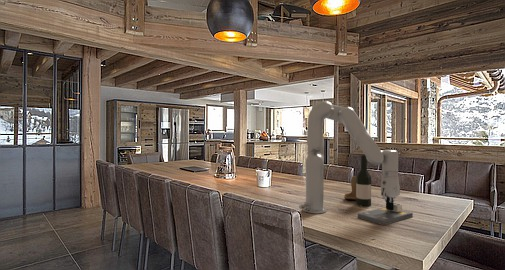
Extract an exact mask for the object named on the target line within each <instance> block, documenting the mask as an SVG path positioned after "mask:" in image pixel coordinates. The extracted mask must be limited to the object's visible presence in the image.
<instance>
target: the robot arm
mask: <svg viewBox="0 0 505 270" xmlns="http://www.w3.org/2000/svg"><path fill="white" fill-rule="evenodd" d="M325 119H328V120H332V121H336V122H340V123H342V124H343V126H344V127H345V129H346V130H347V132H348V134H349V136H350V137H351V138H352V140H353V141H354V142H355V143H356V144H357V145H358V146H359V148H360V149H361V151H362V152H363V154H365V155H366V159H367V162H368V163H370V165H373V166H378V165H381V180H380V181H381V183H380V184H381V185H380V195H381V196H382V200H384V201H385V207H386V209H387V210H393V209H394V203H395V199H396V198H397V197H399V196H400V194H401V187H400V185H401V184H400V177H399V151H398V150H394V149H385V150H381V149H380V147H379V146H378V143H376V141H375V140H374V138H373V137H372V135H371V133H370V132H369V131H368V129H367V128H366V126H365V125H364V123H363V122H362V120H361V119H360V117H359V116H358V114H357V113H356V111H355V109H354V108H353V107H350V106H345V107H344V106H340V105H335V104H332V103H331V102H330V101H327V100H326V101H325V100H324V101H320V102H318V103H316V104H315V105H314V106H313V107H312V108H311V110H310V112H309V114H308V116H307V130H306V131H307V132H306V133H307V135H306V136H307V137H306V144H307V145H306V146H307V157H306V158H305V201H304V203H303V204H301V205H299V206H298V208H299V209H300V210H303V212H306V213H308V214H324V213H326V212H327V208H326V207H324V190H325V189H324V183H325V182H324V180H325V177H324V173H325V171H324V167H325V138H324V121H325Z"/></svg>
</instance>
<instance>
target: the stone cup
mask: <svg viewBox="0 0 505 270" xmlns="http://www.w3.org/2000/svg"><path fill="white" fill-rule="evenodd" d="M356 176H357V175H353V176H351V179H350V185H351V187H350V188H351V192H349V193H345V194H344V199H345V200H351V201H352V200H353V201H356Z"/></svg>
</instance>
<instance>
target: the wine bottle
mask: <svg viewBox="0 0 505 270" xmlns="http://www.w3.org/2000/svg"><path fill="white" fill-rule="evenodd" d="M355 176H356V200H355V204H356V206H360V207H368V208H369V207H371V206H372V176H371V175H370V172H369V171H368V160H367V159H366V155H365V154H364V153H362V154H361V155H360V170H359V172H358V173H357V175H355Z"/></svg>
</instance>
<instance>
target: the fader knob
mask: <svg viewBox="0 0 505 270" xmlns="http://www.w3.org/2000/svg"><path fill="white" fill-rule="evenodd" d="M402 210H403V205H402V203H399V202H398V203H397V202H394V209H393V210H391V211H395V212H400V211H402Z"/></svg>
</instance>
